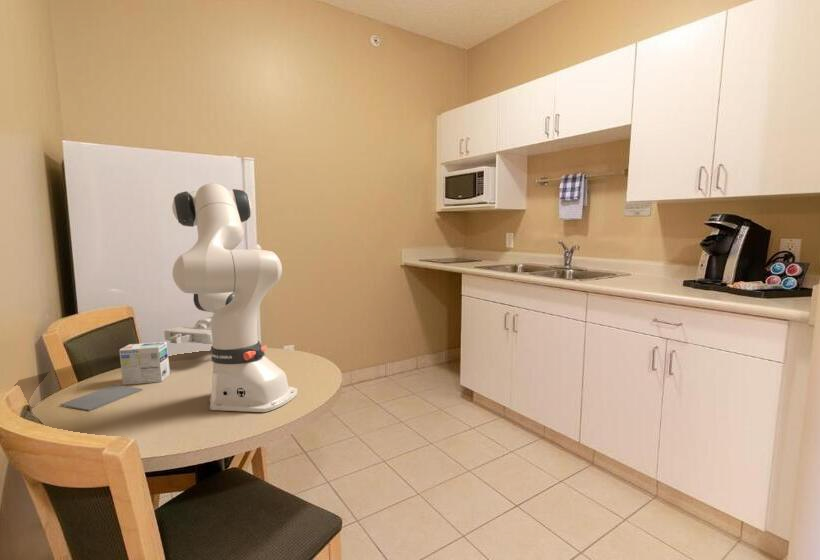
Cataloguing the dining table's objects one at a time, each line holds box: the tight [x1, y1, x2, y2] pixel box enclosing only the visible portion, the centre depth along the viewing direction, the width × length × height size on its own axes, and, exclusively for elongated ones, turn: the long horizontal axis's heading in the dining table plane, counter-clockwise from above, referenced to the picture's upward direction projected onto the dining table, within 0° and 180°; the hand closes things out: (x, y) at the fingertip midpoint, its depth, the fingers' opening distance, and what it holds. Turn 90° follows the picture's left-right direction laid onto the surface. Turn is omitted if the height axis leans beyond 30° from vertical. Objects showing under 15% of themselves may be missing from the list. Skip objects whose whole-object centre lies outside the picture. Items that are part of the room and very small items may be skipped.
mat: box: [59, 384, 144, 412], centre depth 108 cm, size 11×14×1 cm
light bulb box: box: [118, 341, 171, 386], centre depth 121 cm, size 11×7×11 cm, turn 102°
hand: (173, 340), depth 130 cm, fingers closed
